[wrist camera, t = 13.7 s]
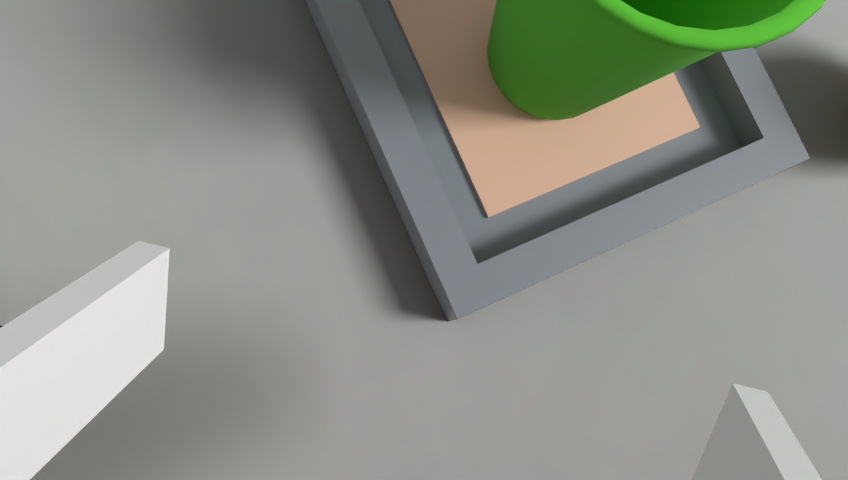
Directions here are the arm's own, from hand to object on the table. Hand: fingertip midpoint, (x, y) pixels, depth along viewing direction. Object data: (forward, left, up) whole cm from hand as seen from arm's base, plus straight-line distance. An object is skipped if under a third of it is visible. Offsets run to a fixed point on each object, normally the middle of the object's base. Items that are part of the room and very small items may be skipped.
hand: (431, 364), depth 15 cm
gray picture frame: (-11, -8, -10) cm, 17 cm away
